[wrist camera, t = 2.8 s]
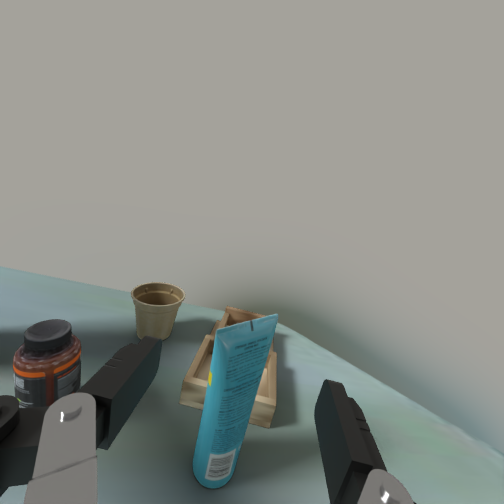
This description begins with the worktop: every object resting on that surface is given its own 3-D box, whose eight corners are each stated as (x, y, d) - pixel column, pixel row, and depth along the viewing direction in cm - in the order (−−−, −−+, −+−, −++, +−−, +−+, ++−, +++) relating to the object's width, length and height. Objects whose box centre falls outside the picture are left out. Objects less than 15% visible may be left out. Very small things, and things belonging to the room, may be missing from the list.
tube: (225, 428, 32) (260, 301, 26) (249, 461, 28) (295, 325, 23) (172, 466, 26) (204, 317, 21) (196, 513, 23) (240, 351, 18)
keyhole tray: (179, 403, 34) (184, 374, 32) (216, 323, 54) (220, 304, 52) (269, 428, 33) (277, 400, 32) (272, 338, 53) (277, 318, 52)
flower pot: (137, 315, 50) (141, 278, 48) (183, 322, 52) (188, 286, 49) (118, 345, 41) (121, 301, 39) (173, 351, 43) (180, 309, 40)
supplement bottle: (88, 386, 33) (91, 315, 30) (66, 430, 27) (68, 347, 24) (35, 387, 31) (34, 312, 28) (2, 433, 26) (-5, 345, 23)
